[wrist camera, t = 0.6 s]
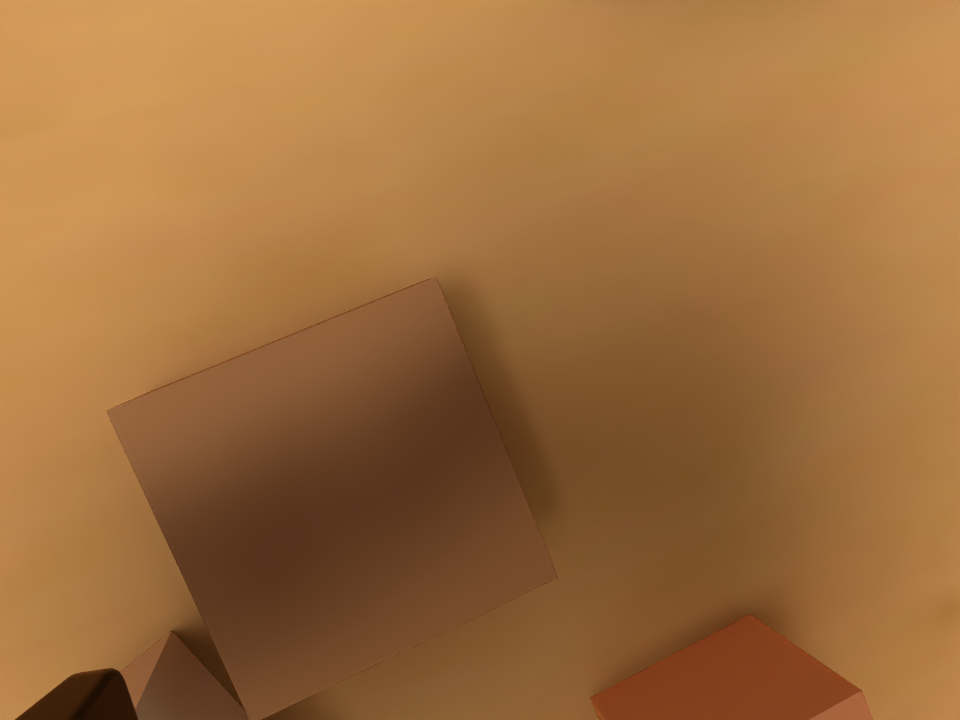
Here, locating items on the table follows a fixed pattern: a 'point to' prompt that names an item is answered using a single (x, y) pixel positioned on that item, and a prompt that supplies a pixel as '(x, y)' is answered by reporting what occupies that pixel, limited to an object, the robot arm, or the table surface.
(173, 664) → the grey cube
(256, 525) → the walnut block
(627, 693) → the terracotta cube
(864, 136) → the table surface
